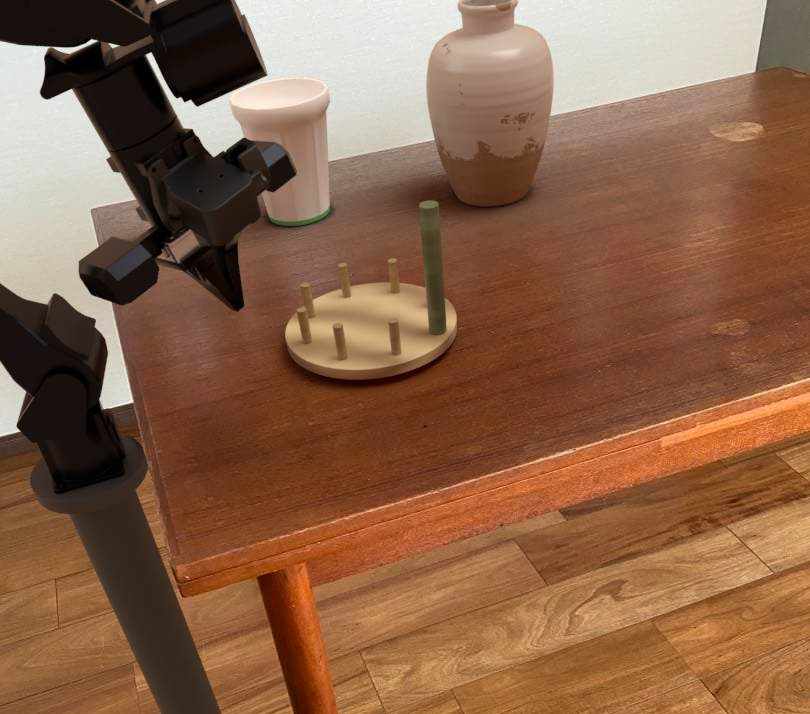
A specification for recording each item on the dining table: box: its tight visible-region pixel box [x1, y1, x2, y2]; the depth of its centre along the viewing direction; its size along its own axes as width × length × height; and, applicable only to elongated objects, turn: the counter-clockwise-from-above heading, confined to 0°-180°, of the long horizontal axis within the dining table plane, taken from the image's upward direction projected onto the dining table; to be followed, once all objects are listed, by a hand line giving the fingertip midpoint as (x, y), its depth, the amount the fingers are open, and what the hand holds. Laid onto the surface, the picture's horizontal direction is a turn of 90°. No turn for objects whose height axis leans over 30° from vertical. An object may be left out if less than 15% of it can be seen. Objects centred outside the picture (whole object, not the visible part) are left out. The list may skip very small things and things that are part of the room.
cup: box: [228, 77, 331, 227], centre depth 115 cm, size 12×12×15 cm
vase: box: [425, 0, 555, 207], centre depth 112 cm, size 16×16×23 cm
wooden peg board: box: [284, 200, 458, 381], centre depth 88 cm, size 18×18×14 cm
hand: (238, 308), depth 75 cm, fingers closed
